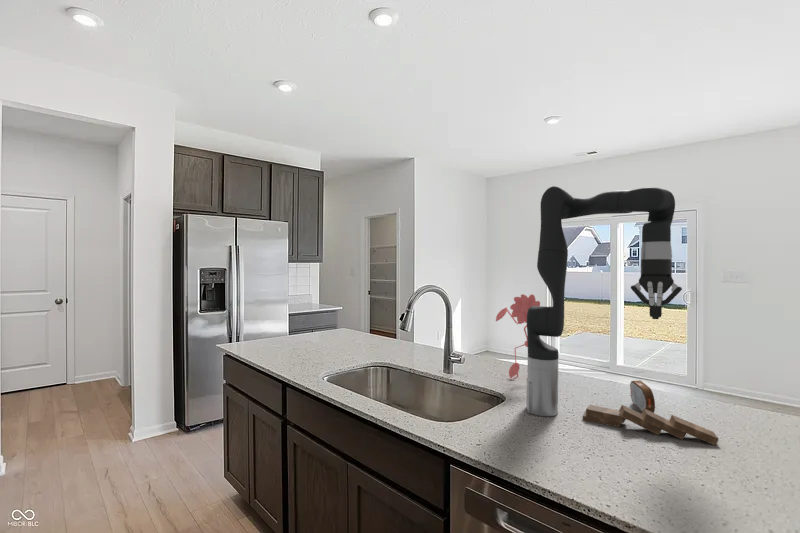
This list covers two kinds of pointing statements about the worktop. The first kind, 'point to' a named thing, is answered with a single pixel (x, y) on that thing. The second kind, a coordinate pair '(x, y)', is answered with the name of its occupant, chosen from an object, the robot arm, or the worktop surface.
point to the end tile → (693, 430)
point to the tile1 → (600, 420)
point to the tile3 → (637, 419)
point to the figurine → (519, 320)
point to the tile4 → (661, 423)
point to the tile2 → (604, 413)
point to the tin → (642, 396)
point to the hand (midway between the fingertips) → (655, 318)
